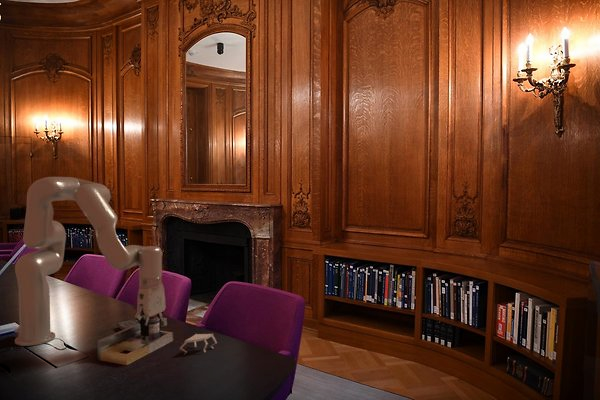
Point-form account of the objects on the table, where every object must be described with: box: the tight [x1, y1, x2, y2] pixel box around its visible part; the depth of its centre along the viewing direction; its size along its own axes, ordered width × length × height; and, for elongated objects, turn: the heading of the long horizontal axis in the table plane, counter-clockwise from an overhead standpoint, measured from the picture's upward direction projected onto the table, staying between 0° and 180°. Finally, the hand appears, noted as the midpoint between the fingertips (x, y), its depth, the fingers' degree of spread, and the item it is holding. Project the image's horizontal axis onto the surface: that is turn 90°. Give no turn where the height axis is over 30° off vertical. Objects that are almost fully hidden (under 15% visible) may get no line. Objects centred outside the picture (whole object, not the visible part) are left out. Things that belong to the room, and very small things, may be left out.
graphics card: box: [116, 317, 168, 330], centre depth 181 cm, size 17×4×12 cm
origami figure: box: [179, 333, 218, 355], centre depth 155 cm, size 12×8×5 cm
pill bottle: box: [142, 314, 161, 341], centre depth 162 cm, size 6×6×11 cm
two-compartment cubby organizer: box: [97, 323, 174, 366], centre depth 156 cm, size 12×24×6 cm, turn 160°
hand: (151, 332), depth 162 cm, fingers closed on pill bottle, 6 cm apart
